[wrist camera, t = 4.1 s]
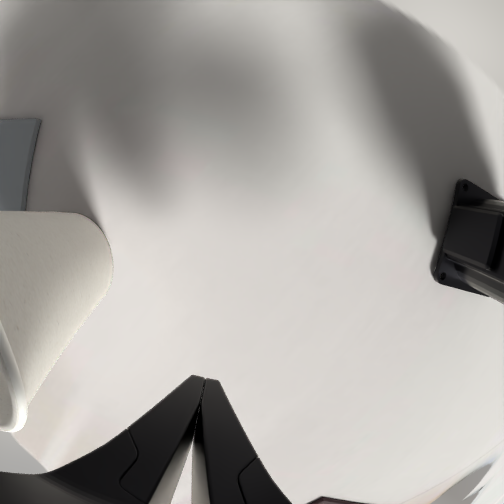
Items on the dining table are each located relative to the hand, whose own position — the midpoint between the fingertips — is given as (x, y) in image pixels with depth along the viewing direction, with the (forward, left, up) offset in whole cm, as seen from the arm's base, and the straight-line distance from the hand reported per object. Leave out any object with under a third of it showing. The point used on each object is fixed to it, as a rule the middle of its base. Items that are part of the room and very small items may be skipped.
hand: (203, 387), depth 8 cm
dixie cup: (+9, 0, -7) cm, 12 cm away
